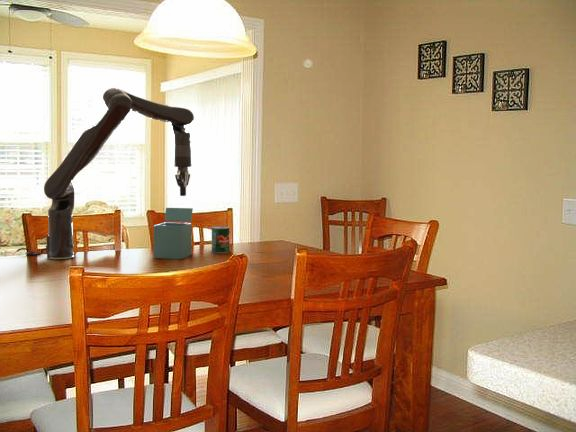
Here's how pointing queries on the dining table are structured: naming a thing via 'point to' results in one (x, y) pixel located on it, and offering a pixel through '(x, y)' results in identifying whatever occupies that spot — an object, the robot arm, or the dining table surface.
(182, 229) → the carton
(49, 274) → the dining table surface
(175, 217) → the flap
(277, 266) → the dining table surface
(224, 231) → the canned tomato
